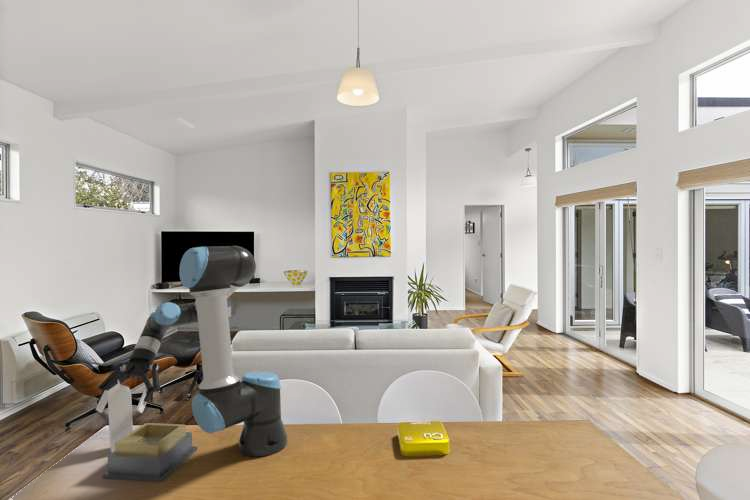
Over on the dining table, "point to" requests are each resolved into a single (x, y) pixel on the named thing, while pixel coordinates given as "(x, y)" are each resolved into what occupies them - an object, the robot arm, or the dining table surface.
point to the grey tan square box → (150, 452)
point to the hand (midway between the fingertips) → (118, 411)
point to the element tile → (423, 438)
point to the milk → (119, 413)
